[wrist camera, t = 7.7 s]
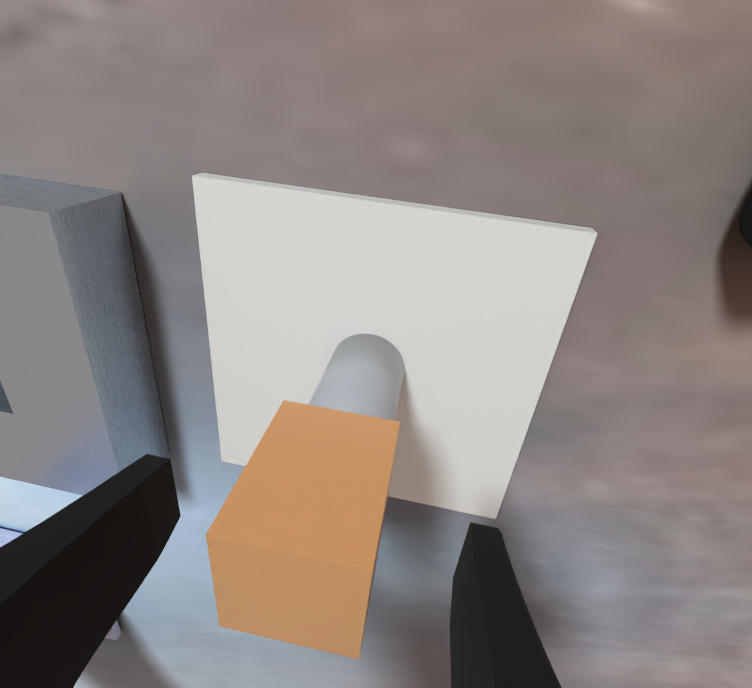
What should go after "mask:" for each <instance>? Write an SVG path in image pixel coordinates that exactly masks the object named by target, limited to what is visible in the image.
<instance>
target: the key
mask: <svg viewBox="0 0 752 688" xmlns="http://www.w3.org/2000/svg"><path fill="white" fill-rule="evenodd" d="M403 375H404V361H403V358H402V356H401V354H400V352H399V351H398V349H397V348H396V347H395V346H394V345H393V344H392V343H391V342H389V341H388V340H386V339H384V338H382V337H380V336H377V335H373V334H356V335H352V336H350V337H347V338H346V339H344V340H343V341H341V342H340V343H339V345H338V346H337V347H336V349H335V351H334V353H333V355H332V357H331V359H330V361H329V363H328V365H327V367H326V369H325V371H324V373H323V376H322V378H321V380H320V382H319V384H318V386H317V388H316V390H315V392H314V394H313V396H312V398H311V400H310V402H309V404H308V405H307V404H302V403H296V402H291V401H286V400H283V402H282V404H281V406H280V407H279V409H278V411H277V413H276V414H275V416H274V418H273V419H272V421H271V423H270V425H269V426H268V428H267V430H266V432H265V433H264V435H263V437H262V439H261V440H260V442H259V444H258V446H257V447H256V449H255V451H254V452H253V454H252V456H251V458H250V459H249V461H248V463H247V465H246V466H245V468H244V470H243V472H242V473H241V475H240V477H239V478H238V480H237V482H236V484H235V485H234V487H233V489H232V491H231V492H230V494H229V496H228V498H227V499H226V501H225V503H224V505H223V506H222V508H221V510H220V511H219V513H218V515H217V517H216V518H215V520H214V522H213V524H212V525H211V527H210V529H209V531H208V532H207V534H206V538H207V545H208V551H209V558H210V565H211V571H212V578H213V585H214V591H215V598H216V605H217V612H218V618H219V625H220V626H221V627H225V628H230V629H234V630H238V631H242V632H246V633H251V634H255V635H259V636H263V637H268V638H272V639H276V640H280V641H284V642H289V643H293V644H297V645H301V646H305V647H310V648H314V649H318V650H322V651H326V652H331V653H335V654H339V655H343V656H348V657H352V658H356V659H359V656H360V651H361V645H362V640H363V634H364V628H365V623H366V617H367V612H368V606H369V601H370V595H371V589H372V584H373V578H374V573H375V567H376V561H377V556H378V550H379V545H380V539H381V534H382V528H383V522H384V517H385V511H386V506H387V500H388V493H389V487H390V481H391V475H392V469H393V463H394V456H395V450H396V444H397V438H398V432H399V426H400V422H399V421H394V420H395V415H396V410H397V405H398V400H399V395H400V390H401V385H402V380H403Z"/></svg>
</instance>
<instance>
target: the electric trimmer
mask: <svg viewBox="0 0 752 688" xmlns="http://www.w3.org/2000/svg"><path fill="white" fill-rule="evenodd" d="M739 228H740V233H741V234H742V236H743V237H744V238H745V240H746V241H747V242H748V244H749V245H750V246H751V247H752V193H751V195H750V197H749V199H748V201H747V203H746V205H745V207H744V209H743V211H742V214H741V216H740V219H739Z"/></svg>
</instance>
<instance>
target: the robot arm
mask: <svg viewBox="0 0 752 688" xmlns="http://www.w3.org/2000/svg"><path fill="white" fill-rule="evenodd" d="M179 518H180V510H179V505H178V500H177V494H176V489H175V483H174V478H173V472H172V467H171V461H170V459H168V458H164V457H159V456H154V455H150V454H146V455H144V456H143V457H141V458H139V459H138V460H136V461H135V462H133V463H132V464H130V465H129V466H127V467H126V468H124V469H123V470H121V471H120V472H118V473H117V474H115V475H114V476H112V477H111V478H109V479H108V480H106V481H105V482H103V483H102V484H100V485H99V486H97V487H96V488H94V489H93V490H91V491H90V492H88V493H87V494H85V495H84V496H82V497H80V498H79V499H77V500H76V501H74V502H73V503H71V504H70V505H68V506H67V507H65V508H63V509H62V510H60V511H59V512H57V513H56V514H54V515H53V516H51V517H49V518H48V519H46V520H45V521H43V522H42V523H40V524H38V525H37V526H35V527H33V528H32V529H30V530H28V531H27V532H25V533H19V532H15V531H10V530H6V529H2V528H0V688H73V687H74V685H75V683H76V682H77V680H78V678H79V676H80V675H81V673H82V672H83V670H84V669H85V667H86V665H87V664H88V662H89V661H90V659H91V657H92V656H93V654H94V653H95V651H96V650H97V648H98V647H99V645H100V644H101V642H102V641H103V640H104V638H108V639H112V640H117V639H118V638H119V637H120V635H121V630H120V627H119V624H118V622H117V619H118V617H119V616H120V615H121V613H122V612H123V610H124V609H125V607H126V606H127V604H128V603H129V601H130V600H131V598H132V597H133V595H134V594H135V592H136V591H137V589H138V588H139V587H140V585H141V584H142V582H143V581H144V579H145V578H146V576H147V575H148V573H149V572H150V570H151V569H152V567H153V566H154V564H155V562H156V561H157V559H158V558H159V556H160V554H161V552H162V551H163V549H164V547H165V545H166V543H167V541H168V540H169V538H170V536H171V534H172V532H173V530H174V528H175V526H176V524H177V522H178V520H179ZM450 649H451V685H452V688H561V685H560V683H559V681H558V679H557V677H556V675H555V673H554V670H553V668H552V666H551V664H550V661H549V659H548V657H547V655H546V652H545V650H544V648H543V645H542V643H541V641H540V638H539V636H538V633H537V631H536V628H535V626H534V624H533V621H532V619H531V616H530V614H529V611H528V609H527V606H526V604H525V601H524V599H523V596H522V593H521V590H520V588H519V585H518V582H517V580H516V577H515V574H514V571H513V568H512V565H511V562H510V559H509V556H508V553H507V550H506V547H505V543H504V540H503V536H502V533H501V532H500V530H499V529H498V528H494V527H489V526H484V525H480V524H475V523H470V525H469V529H468V532H467V535H466V538H465V541H464V545H463V548H462V551H461V554H460V557H459V561H458V564H457V567H456V570H455V573H454V577H453V588H452V602H451V618H450Z"/></svg>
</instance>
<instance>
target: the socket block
mask: <svg viewBox="0 0 752 688" xmlns="http://www.w3.org/2000/svg"><path fill="white" fill-rule="evenodd" d="M146 454H150V455H154V456H159V457H164V458H167V457H168V456H169V450H168V444H167V439H166V434H165V428H164V423H163V417H162V412H161V407H160V401H159V396H158V390H157V385H156V379H155V374H154V369H153V363H152V358H151V352H150V347H149V342H148V336H147V331H146V325H145V320H144V315H143V309H142V304H141V298H140V293H139V288H138V282H137V277H136V271H135V266H134V261H133V255H132V250H131V244H130V239H129V233H128V228H127V223H126V217H125V212H124V206H123V201H122V196H121V192H116V191H109V190H102V189H96V188H89V187H82V186H76V185H69V184H62V183H56V182H49V181H42V180H36V179H29V178H22V177H16V176H9V175H2V174H0V476H1V477H5V478H10V479H14V480H18V481H23V482H27V483H32V484H36V485H40V486H45V487H49V488H53V489H58V490H62V491H67V492H71V493H75V494H80V495H85V494H87V493H88V492H90V491H91V490H93V489H94V488H96V487H97V486H99V485H100V484H102V483H103V482H105V481H106V480H108V479H109V478H111V477H112V476H114V475H115V474H117V473H118V472H120V471H121V470H123V469H124V468H126V467H127V466H129V465H130V464H132V463H133V462H135V461H136V460H138V459H139V458H141V457H143V456H144V455H146Z"/></svg>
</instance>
